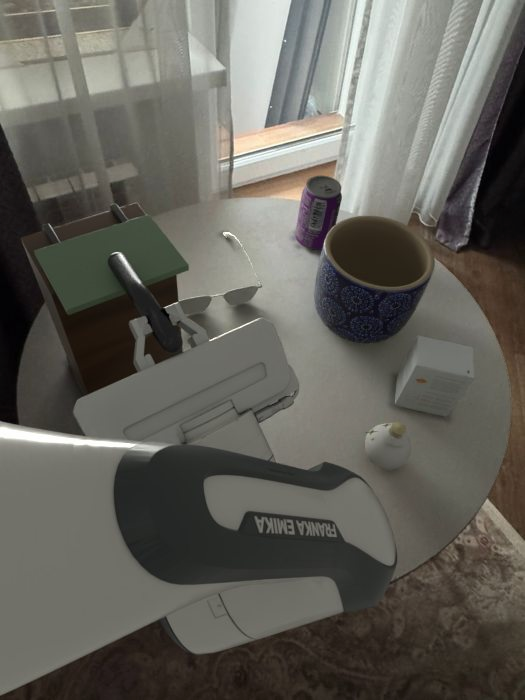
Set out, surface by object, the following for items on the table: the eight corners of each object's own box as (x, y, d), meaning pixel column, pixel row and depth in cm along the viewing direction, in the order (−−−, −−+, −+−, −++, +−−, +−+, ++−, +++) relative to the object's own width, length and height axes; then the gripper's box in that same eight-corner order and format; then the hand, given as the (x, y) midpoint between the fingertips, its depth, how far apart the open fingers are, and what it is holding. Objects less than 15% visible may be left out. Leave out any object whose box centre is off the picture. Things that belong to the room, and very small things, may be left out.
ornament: (409, 473, 69) (434, 439, 61) (357, 480, 68) (376, 447, 60) (395, 434, 72) (417, 397, 64) (345, 440, 71) (362, 403, 63)
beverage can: (338, 244, 96) (352, 190, 87) (309, 257, 94) (320, 203, 84) (316, 223, 100) (327, 169, 90) (287, 235, 97) (295, 180, 87)
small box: (447, 388, 78) (475, 346, 70) (447, 418, 75) (476, 378, 66) (395, 376, 79) (417, 333, 70) (393, 406, 75) (415, 365, 67)
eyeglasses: (172, 319, 82) (170, 302, 79) (149, 246, 92) (146, 229, 89) (261, 300, 86) (263, 284, 83) (229, 233, 96) (230, 216, 93)
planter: (332, 366, 79) (352, 301, 67) (294, 291, 88) (306, 223, 76) (423, 343, 83) (458, 279, 71) (378, 275, 92) (402, 207, 80)
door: (238, 334, 49) (239, 315, 47) (110, 392, 44) (104, 374, 42) (149, 219, 59) (147, 199, 56) (35, 256, 54) (27, 235, 51)
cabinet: (185, 372, 76) (175, 246, 56) (94, 414, 71) (48, 290, 51) (155, 327, 81) (136, 196, 61) (68, 362, 75) (17, 231, 56)
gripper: (320, 394, 48) (257, 264, 48) (117, 505, 40) (43, 349, 40) (293, 400, 54) (237, 284, 54) (112, 497, 46) (47, 361, 46)
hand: (152, 312), depth 47 cm, fingers closed on door, 2 cm apart
